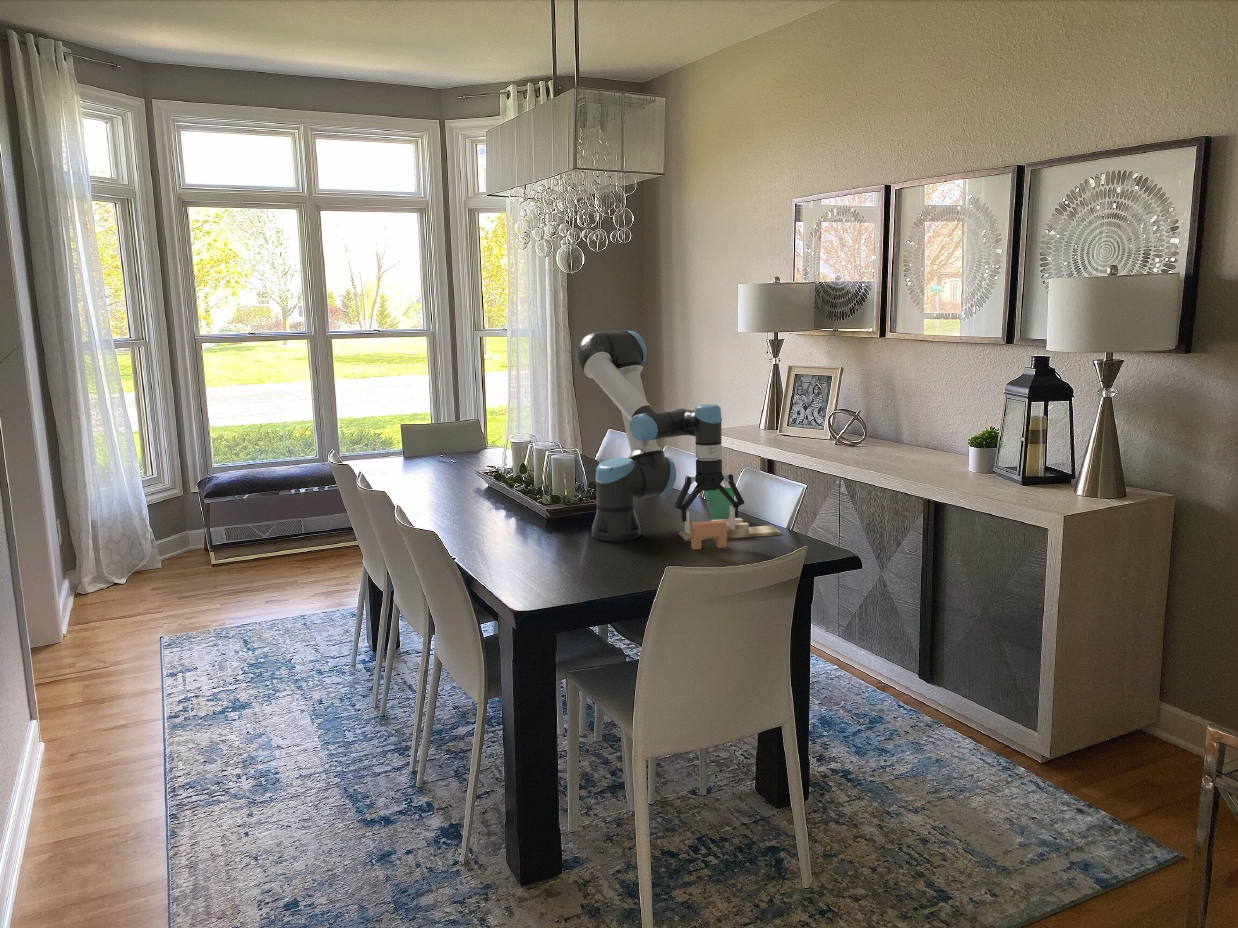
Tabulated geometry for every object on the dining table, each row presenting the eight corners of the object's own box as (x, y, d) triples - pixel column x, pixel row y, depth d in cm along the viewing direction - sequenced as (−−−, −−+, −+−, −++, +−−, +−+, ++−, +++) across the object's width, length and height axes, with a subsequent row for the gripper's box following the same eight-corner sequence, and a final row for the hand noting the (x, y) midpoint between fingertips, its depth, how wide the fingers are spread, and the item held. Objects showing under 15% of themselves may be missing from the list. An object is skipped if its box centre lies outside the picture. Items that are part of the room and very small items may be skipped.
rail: (685, 541, 277) (685, 528, 276) (679, 534, 285) (678, 522, 284) (780, 534, 282) (780, 522, 282) (771, 528, 290) (772, 516, 289)
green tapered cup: (740, 521, 299) (740, 491, 297) (713, 524, 296) (713, 494, 294) (720, 512, 313) (720, 483, 311) (693, 515, 309) (693, 485, 307)
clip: (693, 549, 268) (693, 524, 267) (691, 547, 271) (690, 522, 269) (726, 547, 270) (726, 522, 268) (723, 544, 273) (723, 520, 271)
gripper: (669, 463, 260) (671, 536, 263) (754, 457, 264) (755, 530, 267) (663, 459, 267) (665, 530, 270) (746, 454, 271) (747, 524, 275)
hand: (709, 530), depth 269 cm, fingers open, 13 cm apart
